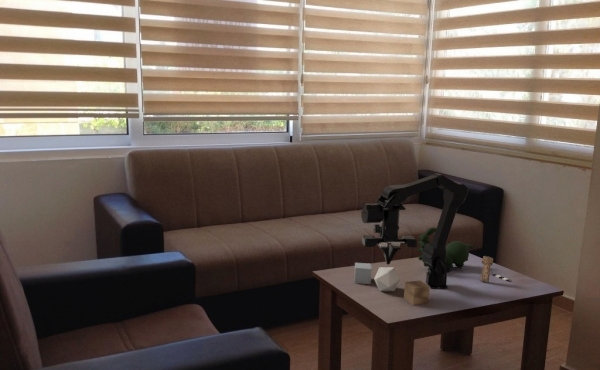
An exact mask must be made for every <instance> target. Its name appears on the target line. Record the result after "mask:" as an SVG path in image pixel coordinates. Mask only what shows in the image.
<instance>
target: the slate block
mask: <svg viewBox="0 0 600 370" xmlns="http://www.w3.org/2000/svg"><path fill="white" fill-rule="evenodd" d="M353 274H354V276H353V277H354V280H353V281H354V284H364V285H365V284H366V285H371V283H372V263H364V262H354V273H353Z"/></svg>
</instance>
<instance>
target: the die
mask: <svg viewBox="0 0 600 370" xmlns="http://www.w3.org/2000/svg"><path fill="white" fill-rule="evenodd" d="M373 280H374V281H375V285H376V287H377V288H378V290H379V292H395V291H396V289H397V287H398V285H399V282H400V281H401V278H400V276H399V275H398V272H397V270H396V268H395V267H393V266H392V267H387V266H383V267H382V266H379V267H378V270H377V272H376V274H375V276H374V278H373Z"/></svg>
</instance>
